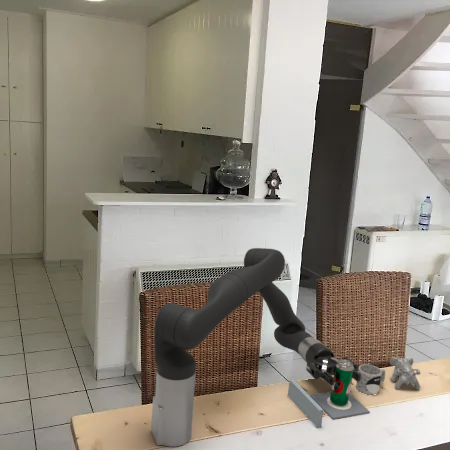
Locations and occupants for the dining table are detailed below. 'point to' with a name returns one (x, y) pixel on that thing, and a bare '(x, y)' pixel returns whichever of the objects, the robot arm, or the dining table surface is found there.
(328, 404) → the slate pad
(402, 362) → the elephant statuette
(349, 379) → the soda can
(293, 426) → the dining table surface
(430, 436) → the dining table surface
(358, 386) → the mug
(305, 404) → the acrylic wall
